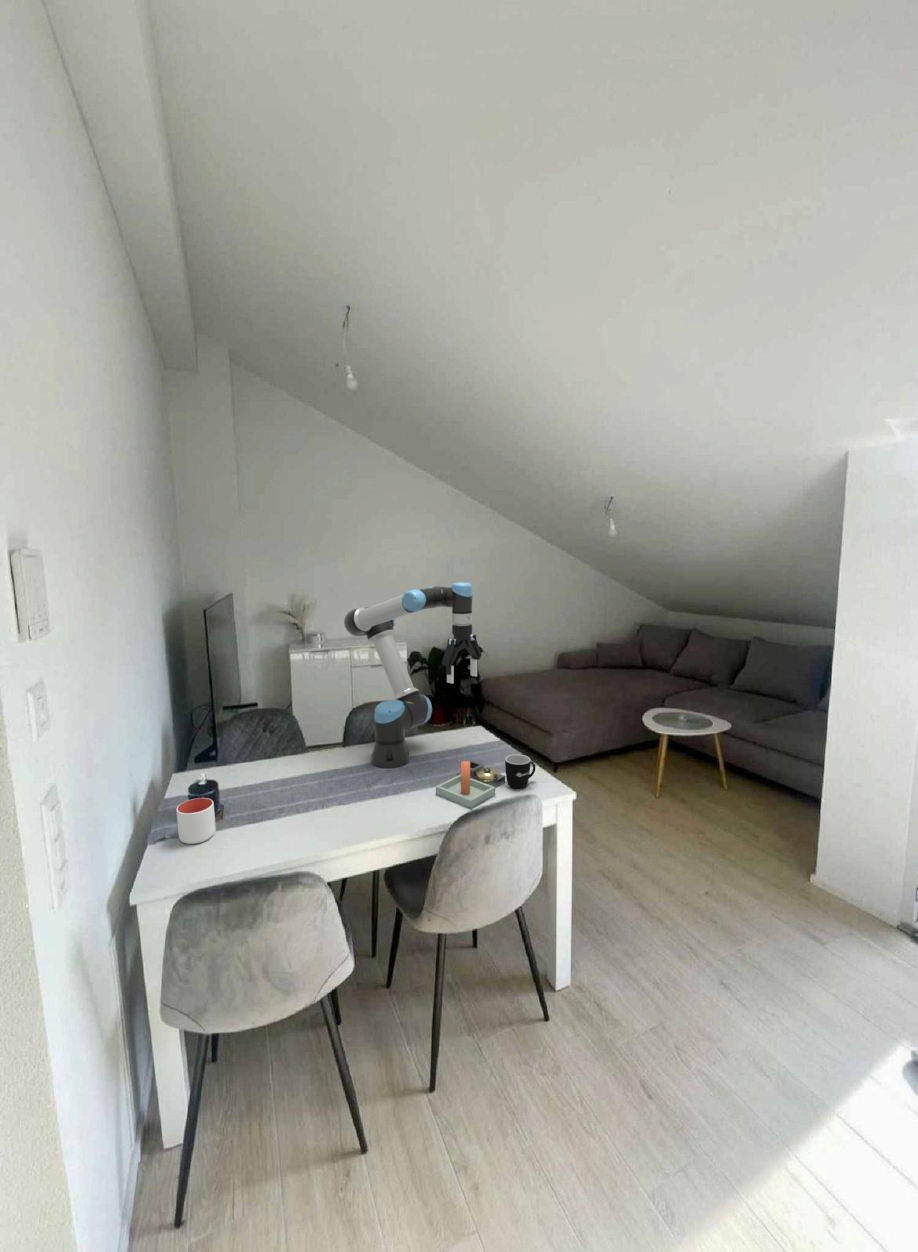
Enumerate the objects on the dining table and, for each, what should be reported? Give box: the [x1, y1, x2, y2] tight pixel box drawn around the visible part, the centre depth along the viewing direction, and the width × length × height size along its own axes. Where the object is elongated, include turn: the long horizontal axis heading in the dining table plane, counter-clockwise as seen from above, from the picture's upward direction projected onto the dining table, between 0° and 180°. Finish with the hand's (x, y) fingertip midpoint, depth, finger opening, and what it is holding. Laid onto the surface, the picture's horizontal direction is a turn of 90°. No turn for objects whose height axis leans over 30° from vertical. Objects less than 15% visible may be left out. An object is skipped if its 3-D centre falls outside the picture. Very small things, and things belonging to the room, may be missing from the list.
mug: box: [504, 753, 536, 791], centre depth 200 cm, size 12×9×10 cm
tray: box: [435, 774, 496, 810], centre depth 193 cm, size 16×13×3 cm
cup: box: [175, 797, 217, 845], centre depth 166 cm, size 10×10×10 cm
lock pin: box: [460, 760, 470, 795], centre depth 192 cm, size 3×3×11 cm
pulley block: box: [455, 760, 506, 789], centre depth 203 cm, size 15×10×6 cm, turn 49°
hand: (462, 679), depth 212 cm, fingers open, 13 cm apart
